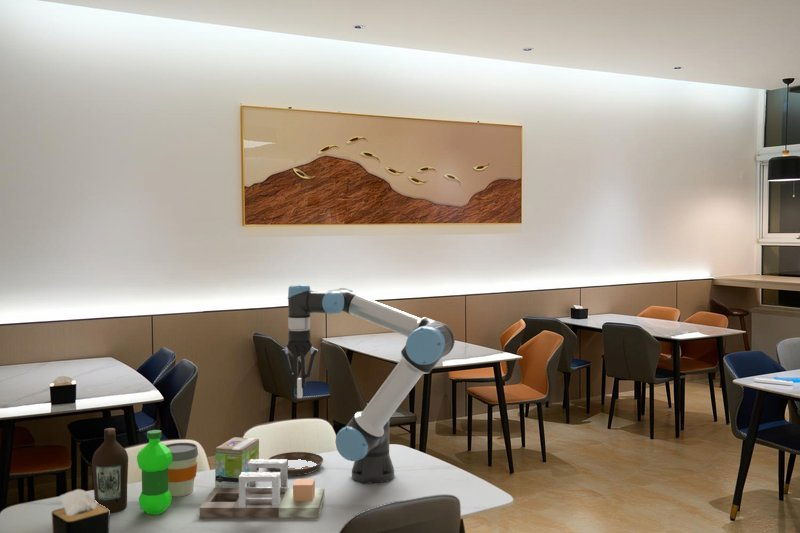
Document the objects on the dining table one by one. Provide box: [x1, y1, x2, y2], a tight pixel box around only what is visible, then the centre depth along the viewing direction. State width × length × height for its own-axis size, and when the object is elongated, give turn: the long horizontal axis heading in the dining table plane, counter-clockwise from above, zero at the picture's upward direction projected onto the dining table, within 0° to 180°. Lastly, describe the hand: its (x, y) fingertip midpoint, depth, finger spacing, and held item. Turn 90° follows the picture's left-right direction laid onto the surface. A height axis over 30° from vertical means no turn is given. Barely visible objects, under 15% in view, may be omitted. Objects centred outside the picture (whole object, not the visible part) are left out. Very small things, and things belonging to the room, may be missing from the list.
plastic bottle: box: [136, 429, 173, 516], centre depth 234 cm, size 10×10×25 cm
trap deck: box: [199, 487, 325, 519], centre depth 238 cm, size 36×18×3 cm, turn 90°
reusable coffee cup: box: [164, 442, 199, 497], centre depth 252 cm, size 13×13×15 cm
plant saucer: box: [268, 451, 324, 476], centre depth 278 cm, size 21×21×3 cm
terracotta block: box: [292, 478, 316, 501], centre depth 238 cm, size 6×6×5 cm
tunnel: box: [239, 458, 289, 508], centre depth 238 cm, size 12×18×10 cm, turn 0°
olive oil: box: [91, 427, 129, 514], centre depth 237 cm, size 11×11×25 cm
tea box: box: [214, 436, 260, 488], centre depth 259 cm, size 15×10×15 cm, turn 168°
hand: (299, 397), depth 262 cm, fingers closed
